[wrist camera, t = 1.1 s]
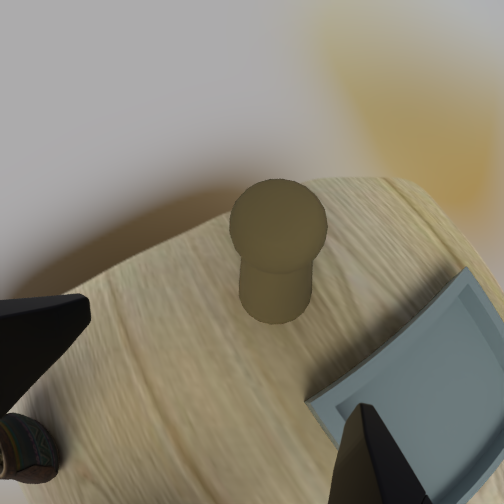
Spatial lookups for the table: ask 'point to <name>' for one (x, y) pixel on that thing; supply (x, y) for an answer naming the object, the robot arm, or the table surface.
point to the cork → (277, 247)
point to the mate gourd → (26, 450)
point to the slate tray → (434, 391)
